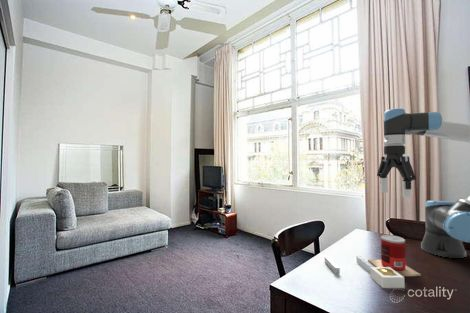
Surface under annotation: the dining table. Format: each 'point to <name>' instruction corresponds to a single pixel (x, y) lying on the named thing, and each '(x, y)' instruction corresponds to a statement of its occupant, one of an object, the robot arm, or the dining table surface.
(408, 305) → the dining table surface
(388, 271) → the plunger
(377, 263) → the mat
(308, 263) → the dining table surface
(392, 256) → the canned food
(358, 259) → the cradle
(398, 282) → the plunger block
